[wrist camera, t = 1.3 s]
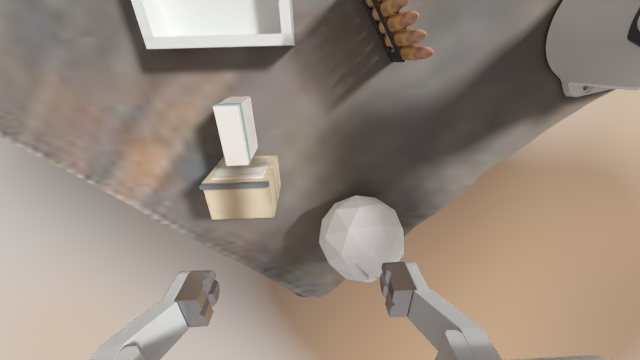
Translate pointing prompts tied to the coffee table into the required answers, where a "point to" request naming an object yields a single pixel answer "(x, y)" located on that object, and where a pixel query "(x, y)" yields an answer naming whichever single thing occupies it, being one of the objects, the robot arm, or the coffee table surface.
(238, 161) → the teal-striped white carton
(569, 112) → the coffee table surface
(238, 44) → the tray
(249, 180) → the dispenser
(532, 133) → the coffee table surface
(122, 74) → the coffee table surface
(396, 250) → the geodesic sphere
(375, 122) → the coffee table surface
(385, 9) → the ammunition clip
